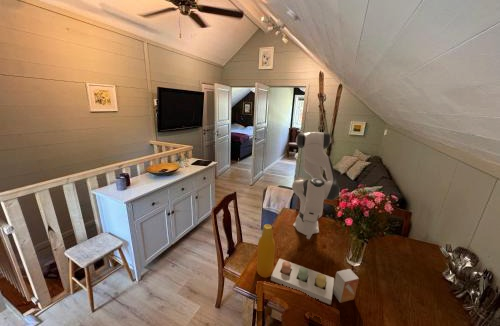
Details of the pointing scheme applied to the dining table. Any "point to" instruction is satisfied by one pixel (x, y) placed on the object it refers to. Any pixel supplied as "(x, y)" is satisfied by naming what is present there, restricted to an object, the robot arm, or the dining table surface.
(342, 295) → the small box
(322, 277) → the mustard button
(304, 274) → the green button
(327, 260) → the dining table surface
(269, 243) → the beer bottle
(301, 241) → the dining table surface
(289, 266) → the terracotta button
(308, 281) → the board
